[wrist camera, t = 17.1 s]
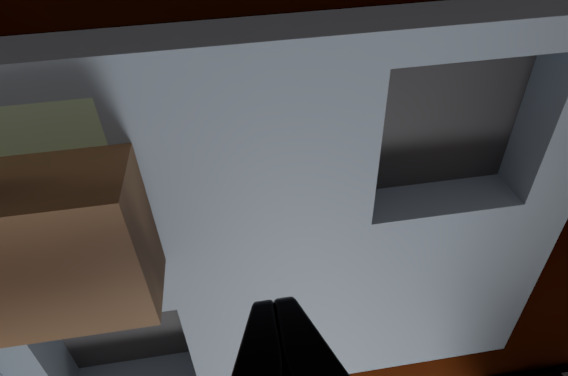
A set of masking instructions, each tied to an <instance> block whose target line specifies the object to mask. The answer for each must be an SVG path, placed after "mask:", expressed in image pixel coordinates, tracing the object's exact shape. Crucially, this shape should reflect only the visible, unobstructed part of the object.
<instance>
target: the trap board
mask: <svg viewBox="0 0 568 376" xmlns="http://www.w3.org/2000/svg"><path fill="white" fill-rule="evenodd" d="M124 143H132V145H133V149H134V152H135V156H136V159H137V162H138V166H139V169H140V173H141V176H142V180H143V183H144V186H145V190H146V193H147V197H148V200H149V204H150V207H151V210H152V214H153V217H154V221H155V224H156V228H157V231H158V234H159V238H160V241H161V245H162V248H163V252H164V255H165V258H166V264H165V277H164V290H163V303H162V316H161V325H156V326H150V327H143V328H136V329H129V330H122V331H116V332H109V333H102V334H95V335H89V336H82V337H75V338H68V339H61V340H55V341H48V342H41V343H34V344H28V345H21V346H14V347H7V348H0V376H231V375H232V371H233V368H234V364H235V361H236V358H237V354H238V351H239V348H240V344H241V341H242V337H243V334H244V331H245V327H246V324H247V321H248V317H249V314H250V310H251V307H252V305H253V303H254V302H256V301H263V300H272V301H273V302H274V300H275V299H277V298H283V297H290V296H292V297H294V298H295V299H296V300H297V302H298V303H299V304H300V306H301V307H302V309H303V310H304V311H305V313H306V314H307V316H308V317H309V318H310V320H311V321H312V323H313V324H314V326H315V327H316V328H317V330H318V331H319V333H320V334H321V335H322V337H323V338H324V340H325V341H326V343H327V344H328V345H329V347H330V348H331V350H332V351H333V352H334V354H335V355H336V357H337V358H338V359H339V361H340V362H341V364H342V365H343V367H344V368H345V369H346V371H347V372H348V374H351V373H357V372H363V371H369V370H376V369H382V368H388V367H394V366H400V365H406V364H412V363H418V362H424V361H430V360H437V359H443V358H449V357H455V356H461V355H467V354H473V353H479V352H485V351H492V350H498V349H504V347H505V345H506V343H507V341H508V339H509V337H510V335H511V333H512V331H513V329H514V327H515V325H516V323H517V321H518V319H519V317H520V315H521V313H522V310H523V308H524V306H525V304H526V302H527V300H528V298H529V296H530V294H531V292H532V290H533V288H534V286H535V284H536V282H537V280H538V278H539V276H540V274H541V272H542V270H543V268H544V266H545V264H546V262H547V260H548V258H549V255H550V253H551V251H552V249H553V247H554V245H555V243H556V241H557V239H558V237H559V235H560V233H561V231H562V229H563V227H564V225H565V223H566V221H567V219H568V0H444V1H432V2H420V3H407V4H395V5H383V6H370V7H358V8H346V9H334V10H321V11H309V12H297V13H284V14H272V15H260V16H247V17H235V18H223V19H210V20H198V21H186V22H173V23H161V24H149V25H136V26H124V27H112V28H99V29H87V30H75V31H62V32H50V33H38V34H25V35H13V36H1V37H0V157H4V156H13V155H22V154H32V153H41V152H50V151H59V150H69V149H78V148H87V147H97V146H106V145H115V144H124Z"/></svg>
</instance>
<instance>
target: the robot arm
mask: <svg viewBox="0 0 568 376" xmlns="http://www.w3.org/2000/svg"><path fill="white" fill-rule="evenodd" d="M231 376H350V375H349V374H348V372H347V371H346V369H345V368H344V367H343V365H342V364H341V362H340V361H339V359H338V358H337V357H336V355H335V354H334V352H333V351H332V350H331V348H330V347H329V345H328V344H327V343H326V341H325V340H324V338H323V337H322V335H321V334H320V333H319V331H318V330H317V328H316V327H315V326H314V324H313V323H312V321H311V320H310V318H309V317H308V316H307V314H306V313H305V311H304V310H303V309H302V307H301V306H300V304H299V303H298V302H297V300H296V299H295V298H294V297H292V296H290V297H283V298H277V299H275V300H274V302H273V301H272V300H263V301H256V302H254V303H253V305H252V307H251V310H250V314H249V317H248V321H247V324H246V327H245V331H244V334H243V337H242V341H241V344H240V348H239V351H238V354H237V358H236V361H235V364H234V368H233V371H232V375H231ZM508 376H568V365H567V366H561V367H555V368H549V369H543V370H537V371H531V372H526V373H520V374H514V375H508Z"/></svg>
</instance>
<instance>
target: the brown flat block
mask: <svg viewBox="0 0 568 376" xmlns="http://www.w3.org/2000/svg"><path fill="white" fill-rule="evenodd" d="M165 264H166V258H165V255H164V252H163V248H162V245H161V241H160V238H159V234H158V231H157V228H156V224H155V221H154V217H153V214H152V210H151V207H150V204H149V200H148V197H147V193H146V190H145V186H144V183H143V180H142V176H141V173H140V169H139V166H138V162H137V159H136V156H135V152H134V149H133V145H132V143H124V144H115V145H106V146H97V147H87V148H78V149H69V150H59V151H50V152H41V153H32V154H22V155H13V156H4V157H0V348H7V347H14V346H21V345H28V344H34V343H41V342H48V341H55V340H61V339H68V338H75V337H82V336H89V335H95V334H102V333H109V332H116V331H122V330H129V329H136V328H143V327H150V326H156V325H161V316H162V303H163V290H164V277H165Z"/></svg>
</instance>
